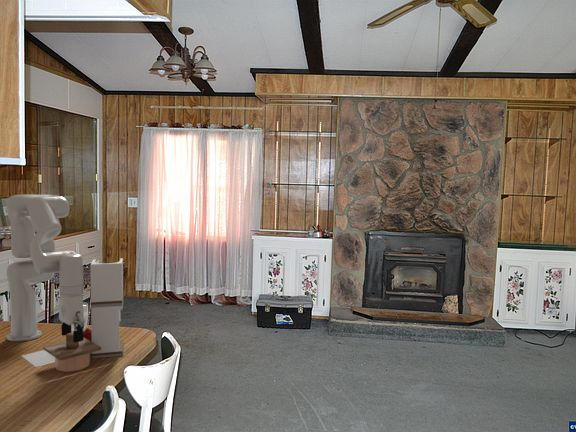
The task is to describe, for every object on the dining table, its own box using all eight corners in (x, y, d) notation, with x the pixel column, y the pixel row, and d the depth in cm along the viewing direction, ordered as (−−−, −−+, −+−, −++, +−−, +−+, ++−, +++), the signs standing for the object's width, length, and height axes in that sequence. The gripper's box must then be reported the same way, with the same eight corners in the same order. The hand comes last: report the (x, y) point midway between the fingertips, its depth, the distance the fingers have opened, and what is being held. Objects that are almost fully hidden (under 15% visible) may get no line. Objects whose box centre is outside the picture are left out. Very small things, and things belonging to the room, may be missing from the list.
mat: (20, 356, 172) (20, 355, 172) (62, 346, 183) (62, 345, 183) (36, 368, 162) (36, 367, 162) (79, 356, 173) (79, 355, 173)
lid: (43, 349, 163) (43, 334, 163) (83, 340, 174) (83, 325, 173) (60, 360, 154) (59, 344, 154) (101, 349, 164) (101, 334, 164)
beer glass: (81, 344, 187) (81, 307, 185) (66, 342, 188) (65, 305, 187) (92, 338, 193) (91, 302, 192) (77, 337, 195) (76, 301, 194)
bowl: (50, 366, 164) (50, 349, 163) (81, 358, 172) (81, 342, 171) (63, 375, 157) (63, 358, 156) (95, 366, 164) (94, 349, 164)
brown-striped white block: (122, 356, 174) (121, 263, 172) (92, 359, 171) (90, 264, 168) (123, 346, 185) (122, 258, 183) (94, 348, 182) (93, 259, 179)
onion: (97, 344, 186) (97, 324, 186) (94, 349, 181) (93, 329, 180) (82, 345, 185) (81, 325, 185) (78, 350, 180) (77, 329, 179)
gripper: (50, 287, 165) (51, 334, 167) (71, 296, 154) (71, 347, 155) (72, 284, 171) (72, 329, 172) (93, 292, 159) (94, 341, 160)
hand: (72, 338), depth 164 cm, fingers open, 9 cm apart
